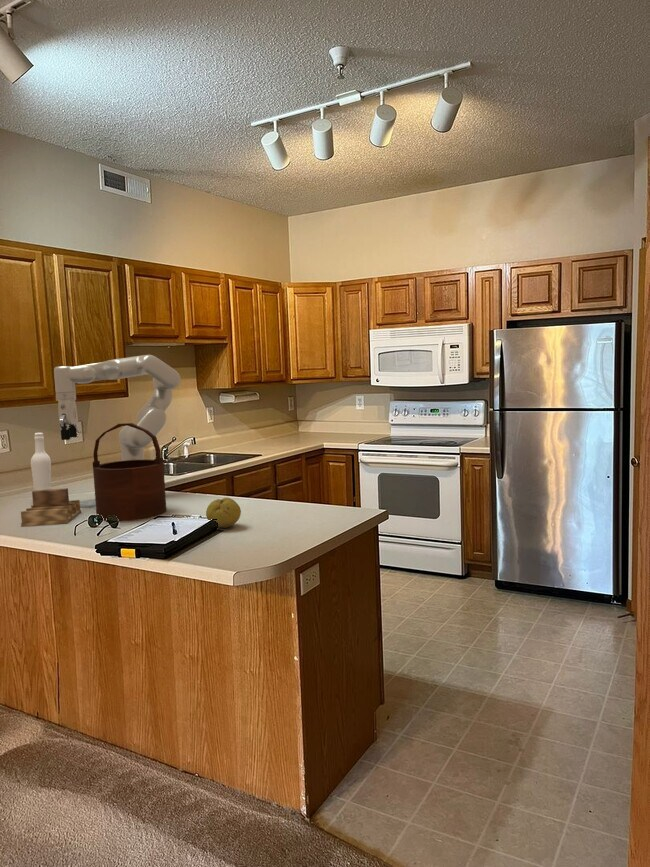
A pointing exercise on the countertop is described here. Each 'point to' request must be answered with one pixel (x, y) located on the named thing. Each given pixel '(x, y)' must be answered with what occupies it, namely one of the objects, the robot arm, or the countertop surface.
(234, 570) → the countertop surface
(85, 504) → the pale blue rounded part
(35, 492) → the board
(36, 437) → the bottle
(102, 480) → the wooden bucket
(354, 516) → the countertop surface
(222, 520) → the fruit
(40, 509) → the rack
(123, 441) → the robot arm
